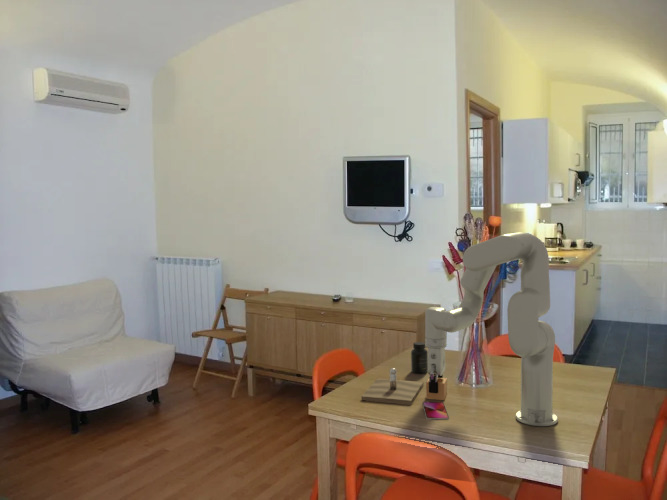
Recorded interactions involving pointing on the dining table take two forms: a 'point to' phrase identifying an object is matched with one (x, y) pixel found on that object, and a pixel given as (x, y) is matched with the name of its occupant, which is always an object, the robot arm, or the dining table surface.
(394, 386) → the post
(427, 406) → the smartphone
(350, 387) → the dining table surface
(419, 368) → the supplement bottle
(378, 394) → the board
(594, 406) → the dining table surface
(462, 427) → the dining table surface
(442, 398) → the hollow wooden cube
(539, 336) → the robot arm
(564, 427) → the dining table surface
